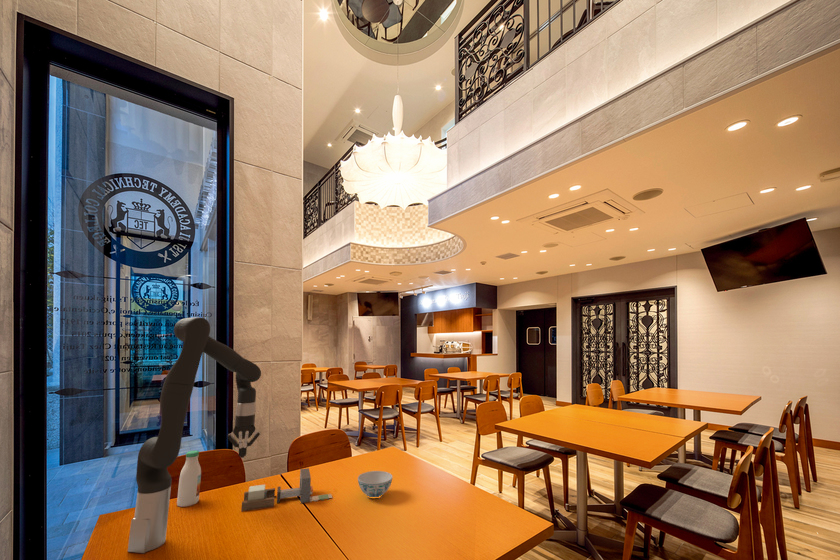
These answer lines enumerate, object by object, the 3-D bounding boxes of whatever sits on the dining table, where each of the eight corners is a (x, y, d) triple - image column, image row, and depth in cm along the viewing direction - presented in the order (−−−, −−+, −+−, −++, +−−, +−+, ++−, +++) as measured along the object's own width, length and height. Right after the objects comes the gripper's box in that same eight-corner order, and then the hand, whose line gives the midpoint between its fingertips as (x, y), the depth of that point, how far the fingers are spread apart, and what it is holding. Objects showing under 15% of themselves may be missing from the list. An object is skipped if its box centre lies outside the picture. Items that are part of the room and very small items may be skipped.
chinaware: (386, 505, 150) (386, 484, 151) (351, 501, 153) (352, 481, 154) (396, 490, 164) (396, 472, 166) (364, 487, 167) (364, 469, 169)
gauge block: (247, 508, 147) (248, 491, 148) (248, 501, 153) (249, 486, 154) (265, 505, 150) (266, 489, 151) (266, 499, 155) (267, 484, 156)
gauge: (241, 512, 144) (243, 486, 145) (244, 499, 155) (245, 475, 157) (332, 498, 156) (333, 475, 157) (328, 487, 167) (329, 465, 169)
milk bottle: (191, 507, 148) (196, 454, 151) (172, 507, 148) (177, 454, 151) (202, 499, 155) (207, 449, 158) (184, 499, 155) (189, 448, 159)
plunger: (276, 504, 149) (277, 494, 150) (277, 496, 157) (277, 486, 158) (313, 499, 154) (313, 489, 155) (311, 492, 162) (311, 482, 162)
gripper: (226, 416, 149) (223, 461, 146) (262, 414, 154) (259, 458, 151) (229, 412, 156) (225, 456, 153) (262, 410, 161) (260, 452, 158)
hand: (242, 457), depth 152 cm, fingers closed
